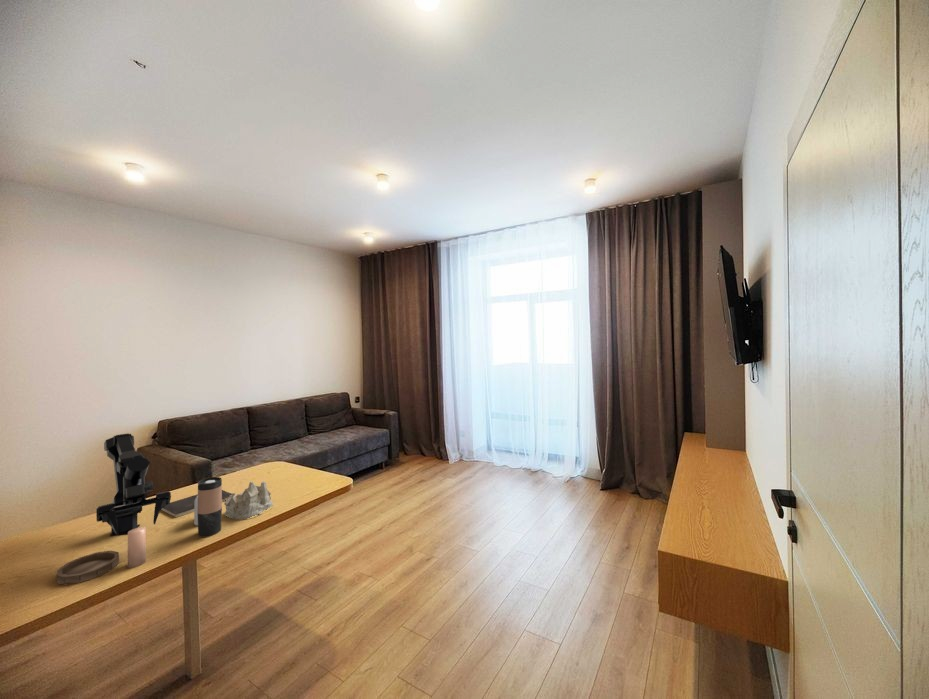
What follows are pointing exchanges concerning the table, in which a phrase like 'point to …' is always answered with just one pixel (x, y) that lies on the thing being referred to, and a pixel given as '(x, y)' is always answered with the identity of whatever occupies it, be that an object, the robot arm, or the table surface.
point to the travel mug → (209, 506)
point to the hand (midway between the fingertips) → (136, 528)
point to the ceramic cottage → (248, 502)
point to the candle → (136, 547)
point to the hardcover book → (186, 505)
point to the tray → (87, 567)
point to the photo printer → (196, 511)
